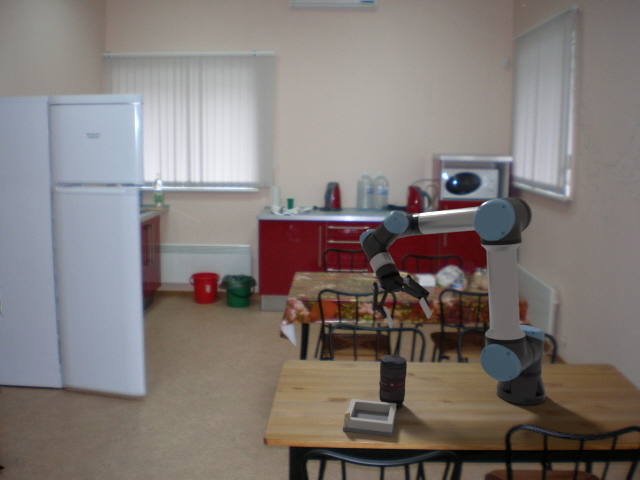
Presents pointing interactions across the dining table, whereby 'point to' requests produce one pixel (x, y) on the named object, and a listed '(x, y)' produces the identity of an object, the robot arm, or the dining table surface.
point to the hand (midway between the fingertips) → (411, 321)
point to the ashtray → (370, 417)
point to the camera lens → (392, 379)
